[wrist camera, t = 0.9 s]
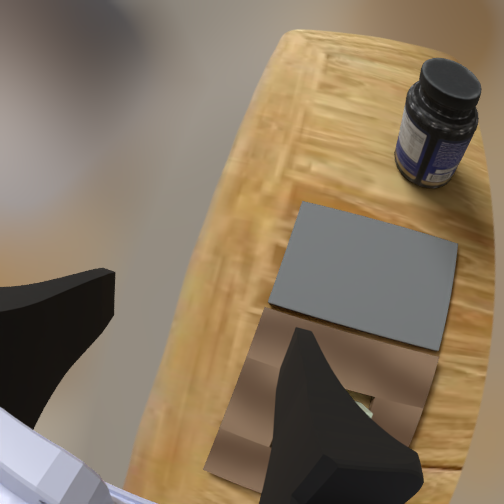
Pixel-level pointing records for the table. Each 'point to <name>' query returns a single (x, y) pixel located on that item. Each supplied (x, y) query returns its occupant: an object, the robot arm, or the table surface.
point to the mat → (367, 275)
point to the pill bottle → (437, 122)
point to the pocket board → (346, 370)
